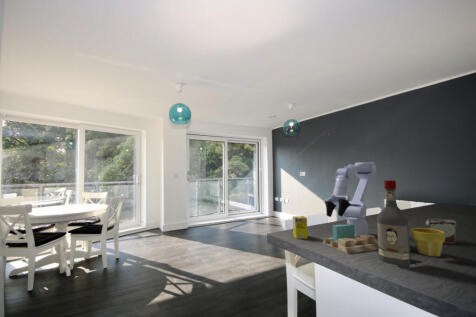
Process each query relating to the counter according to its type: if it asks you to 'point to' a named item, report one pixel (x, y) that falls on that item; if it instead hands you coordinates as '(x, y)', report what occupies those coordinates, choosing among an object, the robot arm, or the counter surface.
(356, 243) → the offcut
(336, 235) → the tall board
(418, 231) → the plant pot
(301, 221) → the supplement box
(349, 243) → the offcut
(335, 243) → the rack
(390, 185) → the liquor
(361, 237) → the offcut
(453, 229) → the food container
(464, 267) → the counter surface
